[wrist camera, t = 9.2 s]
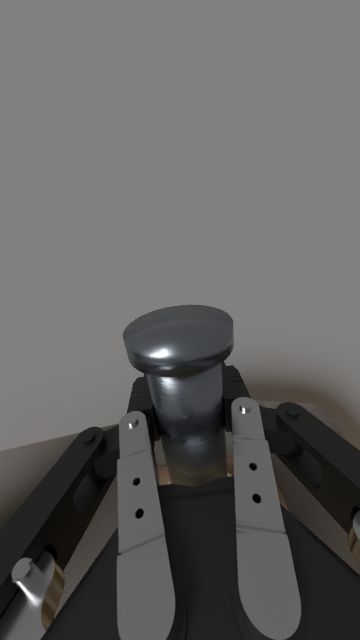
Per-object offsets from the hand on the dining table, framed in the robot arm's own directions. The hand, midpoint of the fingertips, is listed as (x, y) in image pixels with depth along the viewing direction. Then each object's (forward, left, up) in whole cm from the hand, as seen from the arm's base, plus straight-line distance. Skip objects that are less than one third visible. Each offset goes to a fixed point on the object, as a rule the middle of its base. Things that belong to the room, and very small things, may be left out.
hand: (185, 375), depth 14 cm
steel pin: (-2, -2, -7) cm, 8 cm away
